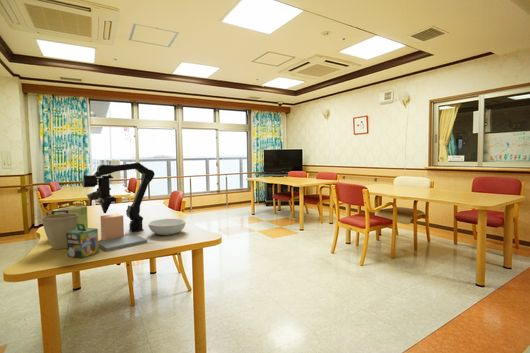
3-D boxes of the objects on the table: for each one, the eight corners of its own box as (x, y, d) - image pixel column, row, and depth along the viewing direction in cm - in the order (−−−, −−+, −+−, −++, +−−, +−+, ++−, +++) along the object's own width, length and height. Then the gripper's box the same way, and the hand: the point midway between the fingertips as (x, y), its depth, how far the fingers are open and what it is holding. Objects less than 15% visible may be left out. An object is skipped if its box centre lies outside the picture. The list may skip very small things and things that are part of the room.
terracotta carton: (118, 236, 164) (117, 213, 164) (123, 238, 159) (123, 215, 158) (101, 239, 158) (100, 216, 157) (106, 242, 152) (105, 218, 152)
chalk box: (99, 252, 135) (98, 221, 134) (81, 258, 127) (80, 226, 126) (85, 250, 138) (84, 220, 137) (66, 256, 130) (65, 224, 129)
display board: (134, 236, 162) (134, 234, 162) (147, 242, 152) (147, 239, 152) (95, 244, 148) (95, 241, 148) (106, 251, 137) (106, 248, 137)
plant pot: (86, 243, 149) (85, 213, 148) (60, 252, 135) (59, 219, 134) (62, 241, 152) (61, 212, 151) (35, 250, 138) (33, 218, 137)
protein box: (88, 231, 176) (87, 206, 175) (69, 237, 160) (68, 210, 160) (72, 230, 177) (71, 205, 176) (52, 237, 161) (50, 210, 160)
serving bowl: (171, 239, 158) (171, 227, 157) (140, 236, 164) (140, 224, 164) (192, 230, 177) (192, 219, 177) (164, 228, 184) (164, 217, 184)
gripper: (83, 186, 165) (84, 213, 166) (93, 188, 152) (94, 217, 153) (104, 185, 173) (104, 210, 174) (115, 187, 160) (116, 214, 161)
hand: (104, 213), depth 165 cm, fingers closed
